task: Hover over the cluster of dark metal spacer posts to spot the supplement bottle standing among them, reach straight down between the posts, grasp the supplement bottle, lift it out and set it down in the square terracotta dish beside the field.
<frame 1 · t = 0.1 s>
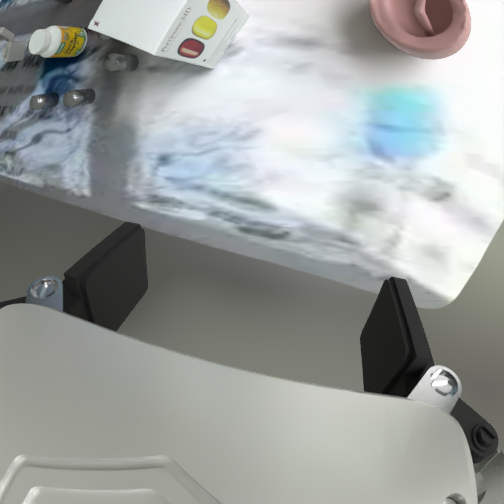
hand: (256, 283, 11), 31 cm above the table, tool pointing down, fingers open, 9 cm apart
mortar and pestle: (406, 22, 27), on the table
supplement box: (204, 29, 32), on the table
supplement bottle: (77, 42, 35), on the table
lighter: (25, 43, 35), on the table
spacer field: (77, 42, 34), on the table
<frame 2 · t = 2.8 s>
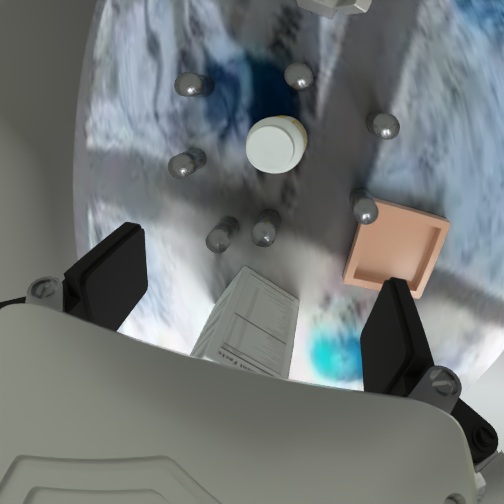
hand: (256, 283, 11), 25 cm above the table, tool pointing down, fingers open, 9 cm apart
dish: (394, 247, 35), on the table
supplement box: (256, 302, 44), on the table
supplement bottle: (283, 138, 33), on the table
lighter: (329, 12, 25), on the table
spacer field: (283, 138, 32), on the table
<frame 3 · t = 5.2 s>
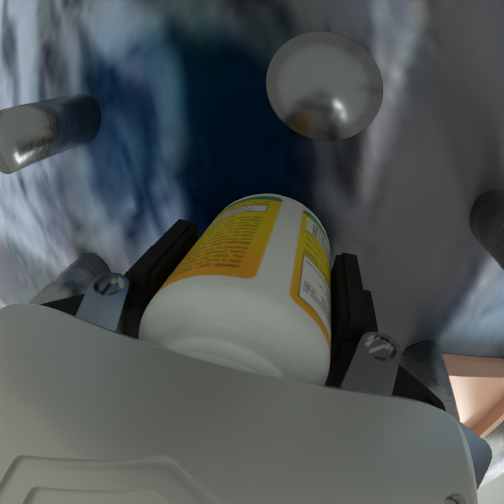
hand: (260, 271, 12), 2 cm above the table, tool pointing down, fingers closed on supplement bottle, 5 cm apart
dish: (452, 406, 17), on the table
supplement bottle: (269, 245, 14), on the table, touching gripper
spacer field: (268, 247, 14), on the table
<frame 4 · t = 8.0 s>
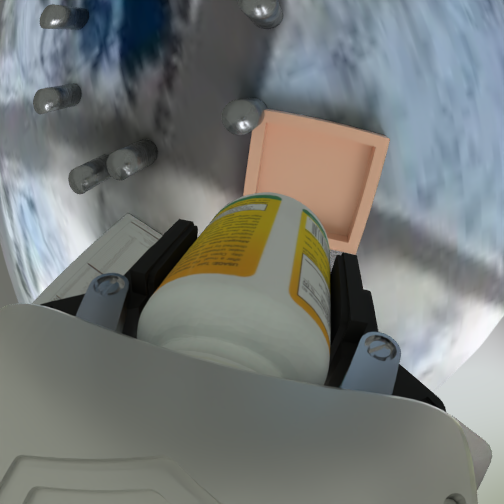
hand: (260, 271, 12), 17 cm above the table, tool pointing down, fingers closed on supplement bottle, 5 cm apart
dish: (311, 179, 26), on the table
supplement box: (149, 260, 35), on the table
supplement bottle: (268, 244, 14), point 14 cm above the table, touching gripper
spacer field: (153, 52, 22), on the table
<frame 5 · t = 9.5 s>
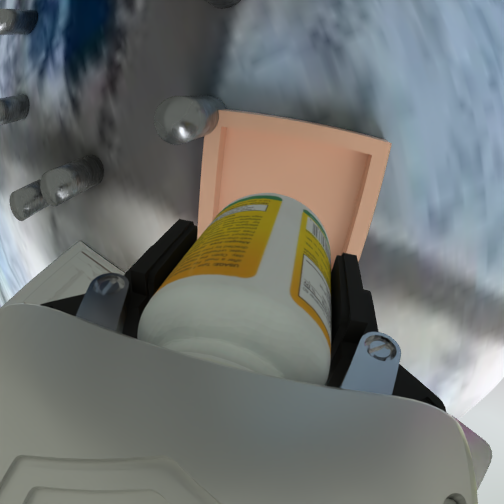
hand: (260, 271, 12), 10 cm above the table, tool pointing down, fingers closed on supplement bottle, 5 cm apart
dish: (286, 200, 20), on the table
supplement box: (107, 294, 29), on the table
supplement bottle: (269, 244, 14), point 7 cm above the table, touching gripper
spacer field: (96, 51, 17), on the table
when the fingers open (4 cm above the table, at t = 10.8 s): supplement bottle drops 1 cm, resting on dish.
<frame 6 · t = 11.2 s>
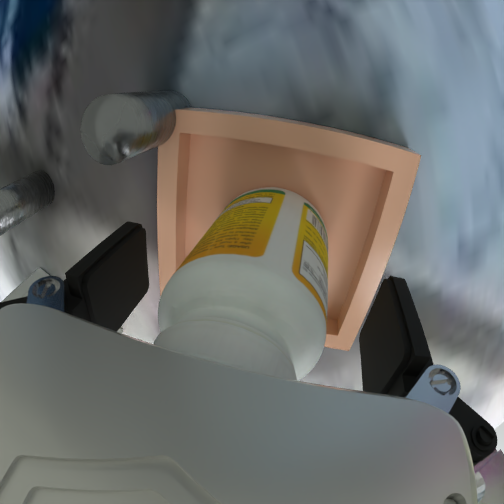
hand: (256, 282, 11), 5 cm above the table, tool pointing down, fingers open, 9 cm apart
dish: (274, 229, 15), on the table
supplement box: (75, 325, 24), on the table
supplement bottle: (272, 234, 15), resting on dish
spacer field: (41, 46, 12), on the table
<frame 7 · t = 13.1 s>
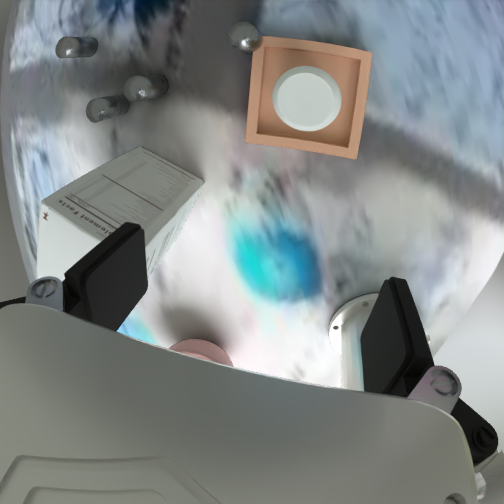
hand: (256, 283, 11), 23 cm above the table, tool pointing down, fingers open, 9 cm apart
dish: (308, 94, 27), on the table
mortar and pestle: (206, 348, 49), on the table
supplement box: (159, 193, 36), on the table
supplement bottle: (307, 96, 27), resting on dish
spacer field: (164, 4, 23), on the table
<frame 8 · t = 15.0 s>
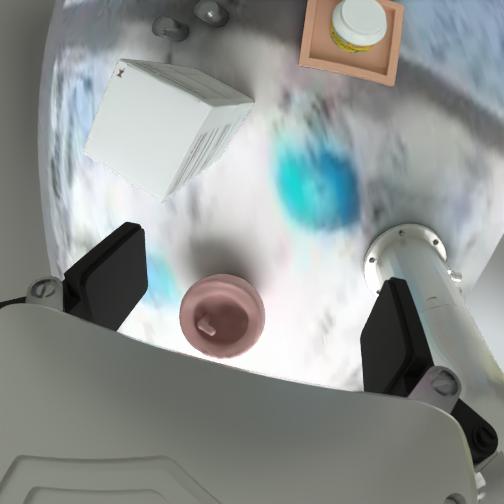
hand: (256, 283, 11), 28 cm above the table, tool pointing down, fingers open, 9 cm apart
dish: (351, 34, 27), on the table
mortar and pestle: (233, 290, 48), on the table
supplement box: (207, 113, 36), on the table
supplement bottle: (351, 34, 27), resting on dish
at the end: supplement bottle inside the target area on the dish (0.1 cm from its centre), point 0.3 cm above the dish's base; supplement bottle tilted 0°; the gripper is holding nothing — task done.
